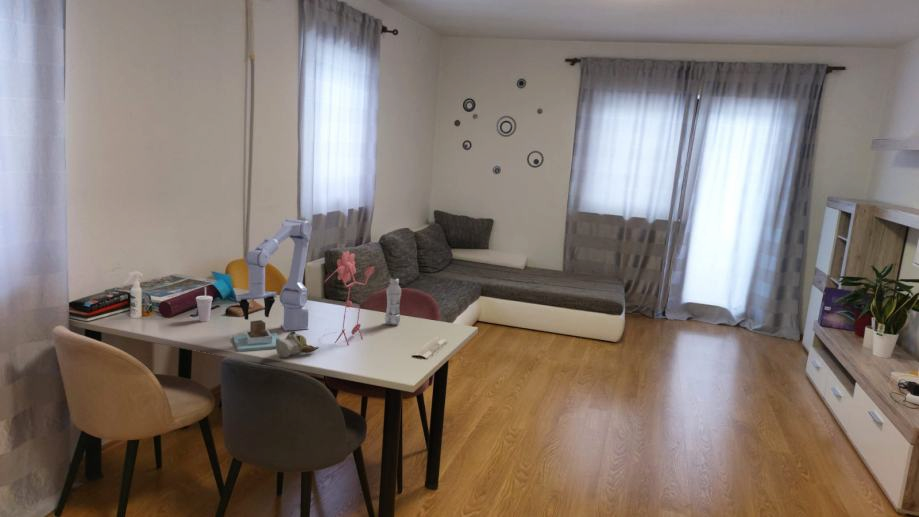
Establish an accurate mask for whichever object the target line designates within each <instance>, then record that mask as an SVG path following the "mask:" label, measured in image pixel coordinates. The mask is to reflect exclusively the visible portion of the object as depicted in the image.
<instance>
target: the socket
mask: <svg viewBox="0 0 919 517" xmlns="http://www.w3.org/2000/svg"><path fill="white" fill-rule="evenodd" d="M270 333H271V332H270V331H269V329H265V336H263V337H250V330H245V331H244V334H243V335H244V338H245V340H246V342H247V345H253V344H266V343H272V335H271V334H270Z"/></svg>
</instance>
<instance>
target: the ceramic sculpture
mask: <svg viewBox="0 0 919 517" xmlns="http://www.w3.org/2000/svg"><path fill="white" fill-rule="evenodd" d="M319 348H320V347H319V346H313V345H311V344H310V345H309V344H307V339H306V337H305V336H304V335H303V334H300V333H296V332H295V331H292V332H290V333H288V334H287V335H286V337H285V338H280V339H278V338H277V339H276V349H275V350H276V352H277V355H278V356H279V357H280V358H288V357H289V356H290V355H300V354H311V353H314V352H315V351H316V350H318V349H319Z"/></svg>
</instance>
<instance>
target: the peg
mask: <svg viewBox="0 0 919 517" xmlns="http://www.w3.org/2000/svg"><path fill="white" fill-rule="evenodd" d="M249 325H250V327H249V328H250V330H249V331H250V337H263V336H265V330H266V322H265V321H264V320H262V319H258V320H251V321H250V324H249Z"/></svg>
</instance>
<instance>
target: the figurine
mask: <svg viewBox="0 0 919 517" xmlns="http://www.w3.org/2000/svg"><path fill="white" fill-rule="evenodd" d="M355 256H356V255H355V253H350V251H349V250H347V251H346V252H345V251H344V252H342V254H341V259H339V258H338V259H337V261H336V264H337V269H335V270H334V271H333V272H332V274H330V275H329V276H328V277H327V278H326V280H324V282H323V283H326V282H327V281H328V280H329V279H330V278H331V277H332V276H333V275H334V274H335V273H338V275H337V280H338V281H341V280H342V282H343V284H344V286H345V288H348V292H347V293H348V294H347V300H346V301H345V303H344V306H345V309H344V314H343V322H342V330H341V332H340V333H339V335H338V337H337V338H336V340H335V342H334V343H335V344H336V343H337V342H338V340H339V339H341V337H342V335H343V336H344V339H345V342H346V344H347V346H349V345H350V343H349V340H348V337H347V335H346V333H345V331H346V328H344V327H345V319H346V313H347V308H351V307H354V308H356V309H358V313H357V320H356V325H355V326H354V327H353V328H352V329H351V335H353V336H354V335H355V334H356V333H357V332H358V333H359V336H360V339H361V340H364V338H363V335H362V332H361V329H360V328H361V323H359V319H360V311H361V308H360V306H356V305H354V304H353V302H352V301H351V300H349V299H350V293H351V292H350V291H351V288H352V287H353V286H354V285H356V284H358V285H363V286H366V284H367V282H368V280H369V278H370V276H372V275H373V274H374V273H375V268H374V266H371V267H369V268H367V269H366V270H365V272H364V276H365V278H366V279H365V283H363V282H357V281H356V279H355V277H354V275H356V273H357V269H356V266H355V265H356V262H355ZM351 279H352V280H353V282H351V283H349V284H348V285H347V283H348V282H350V281H351ZM336 333H337V332H334V334H336ZM330 334H331V335H332V334H333V332H331V333H330V332H329V333H328V334H323V336H321V338H319V340H321V339H322V338H323V337H325V336H328V335H330ZM371 336H374V335H373V334H371Z"/></svg>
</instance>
